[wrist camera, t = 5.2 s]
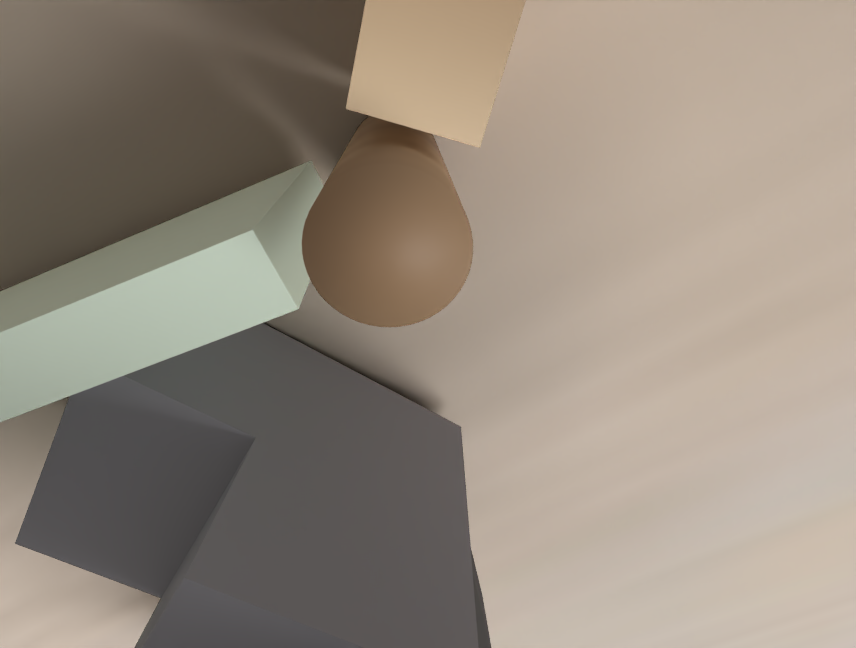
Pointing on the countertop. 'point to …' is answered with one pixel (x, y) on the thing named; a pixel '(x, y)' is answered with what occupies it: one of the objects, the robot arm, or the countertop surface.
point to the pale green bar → (156, 293)
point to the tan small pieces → (407, 159)
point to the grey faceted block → (264, 502)
